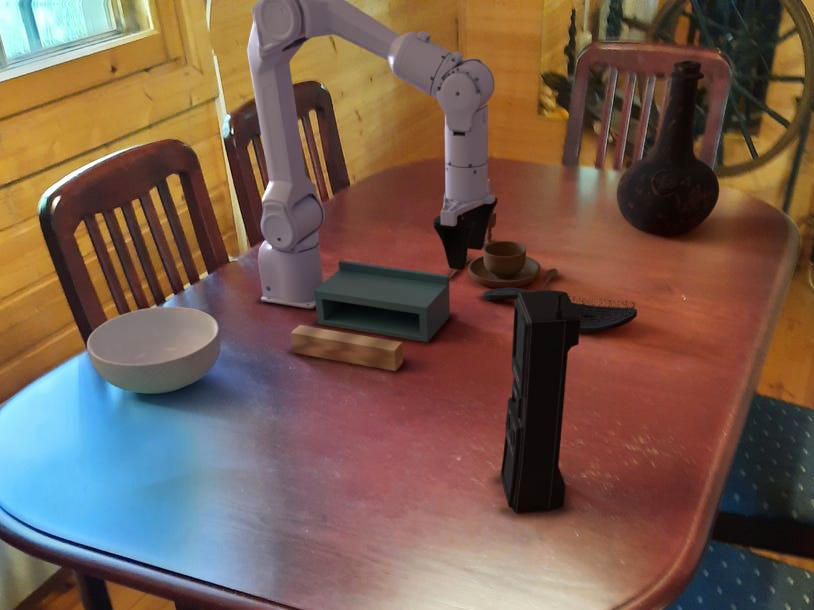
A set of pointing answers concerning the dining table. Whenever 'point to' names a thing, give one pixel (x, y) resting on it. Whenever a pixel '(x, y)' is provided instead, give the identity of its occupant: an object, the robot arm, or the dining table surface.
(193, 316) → the cereal bowl
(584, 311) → the hairbrush
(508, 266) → the place setting
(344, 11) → the robot arm
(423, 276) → the shelf
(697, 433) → the dining table surface
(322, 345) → the stick
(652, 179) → the glass bottle
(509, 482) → the portable radio
